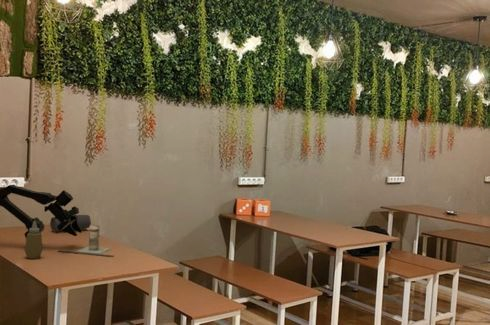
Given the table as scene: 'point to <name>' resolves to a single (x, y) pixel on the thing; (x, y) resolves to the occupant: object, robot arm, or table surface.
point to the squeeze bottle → (33, 242)
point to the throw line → (87, 253)
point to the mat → (86, 250)
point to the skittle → (94, 237)
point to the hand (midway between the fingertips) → (78, 234)
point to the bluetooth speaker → (82, 222)
